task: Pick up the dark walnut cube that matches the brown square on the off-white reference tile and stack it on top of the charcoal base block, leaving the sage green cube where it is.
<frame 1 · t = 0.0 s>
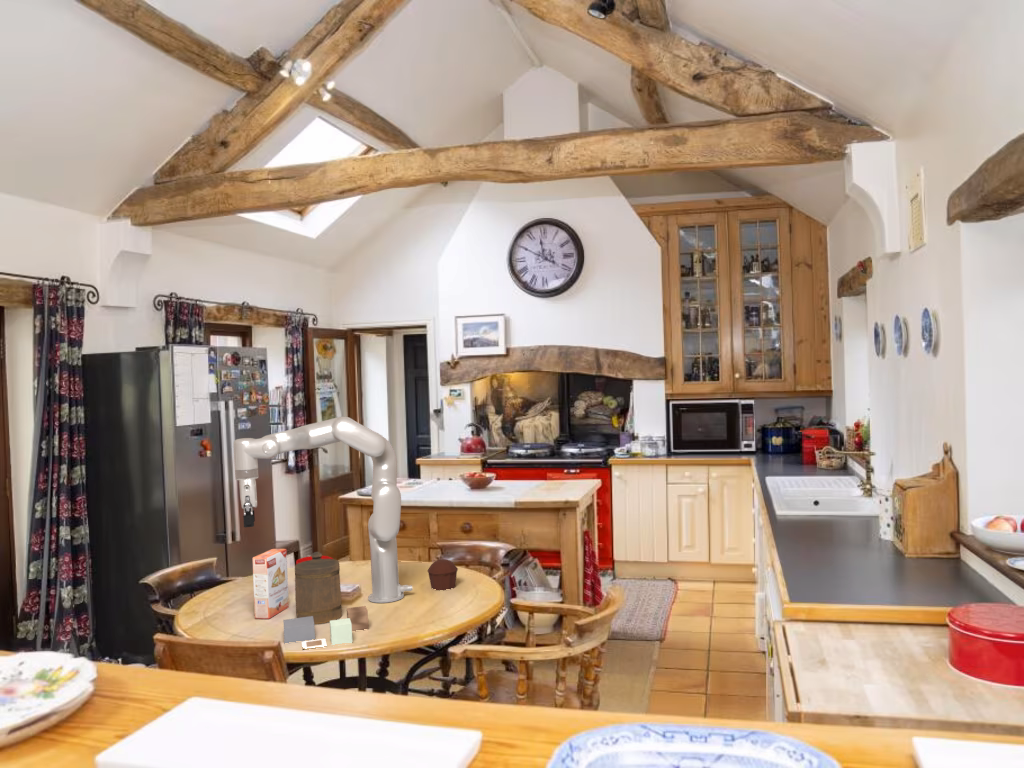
hand: (249, 524, 269), 31 cm above the table, tool pointing down, fingers open, 9 cm apart
base block: (299, 638, 244), on the table
muffin: (443, 587, 294), on the table
wooden container: (319, 618, 263), on the table
cracker box: (272, 613, 272), on the table
ceramic cup: (318, 584, 308), on the table
reference tile: (314, 644, 236), on the table
walnut cube: (357, 628, 250), on the table
sage cube: (341, 641, 238), on the table
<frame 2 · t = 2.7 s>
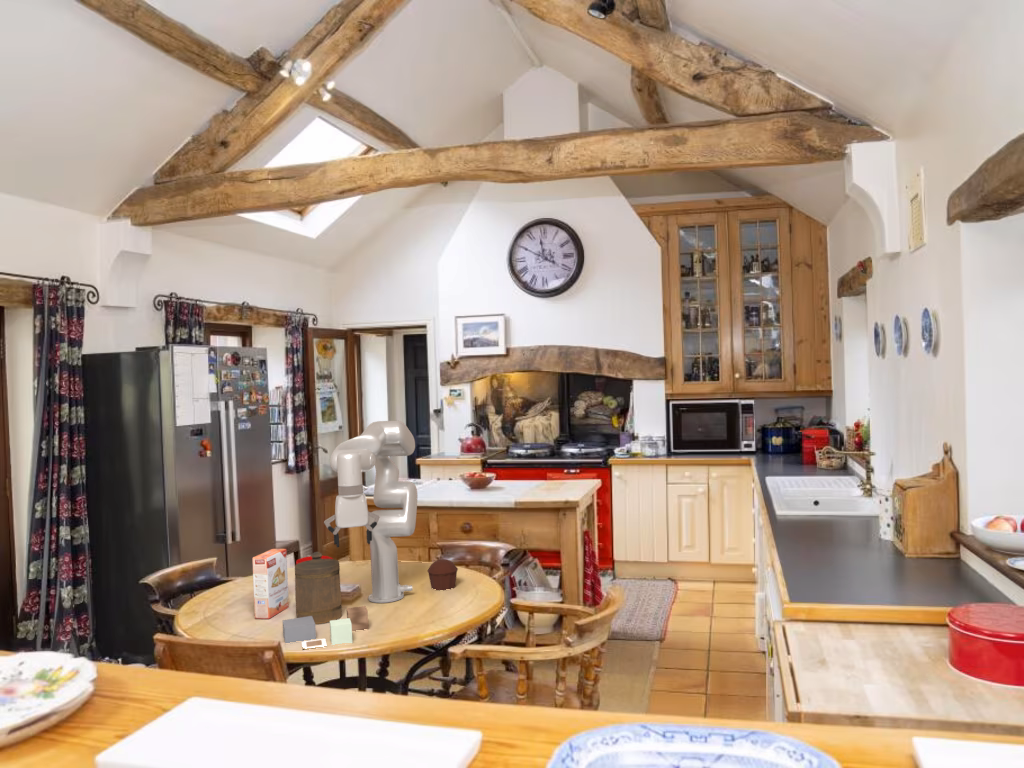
hand: (353, 544, 250), 27 cm above the table, tool pointing down, fingers open, 9 cm apart
nothing on the table moved.
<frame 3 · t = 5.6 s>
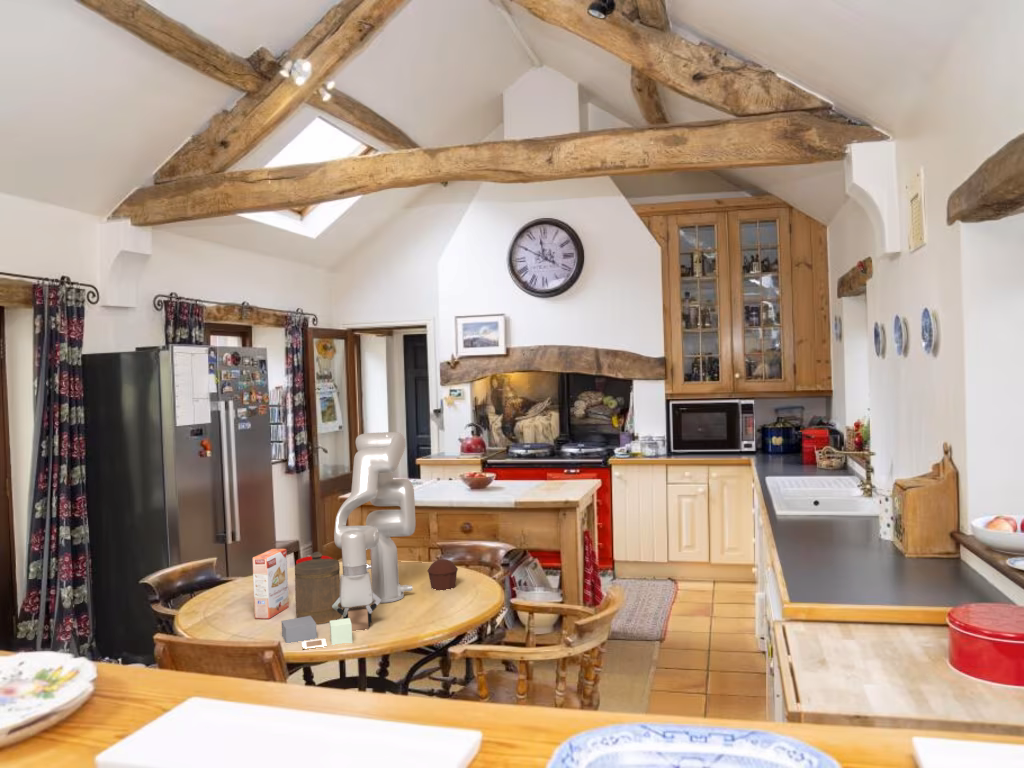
hand: (357, 626, 250), 1 cm above the table, tool pointing down, fingers closed on walnut cube, 6 cm apart
walnut cube: (357, 628, 250), on the table, touching gripper
everything else where it was.
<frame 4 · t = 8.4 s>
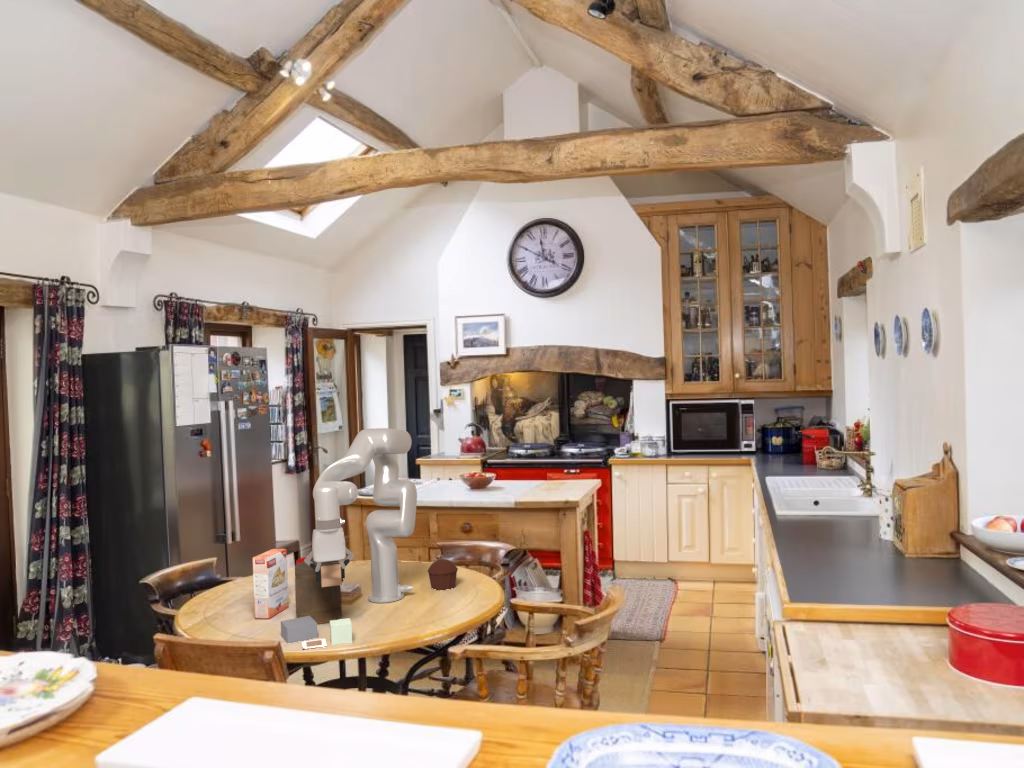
hand: (330, 581, 247), 16 cm above the table, tool pointing down, fingers closed on walnut cube, 6 cm apart
walnut cube: (330, 583, 247), point 15 cm above the table, touching gripper
everything else where it was.
when the fingers open (7 cm above the table, at t = 11.1 s): walnut cube drops 1 cm, resting on base block.
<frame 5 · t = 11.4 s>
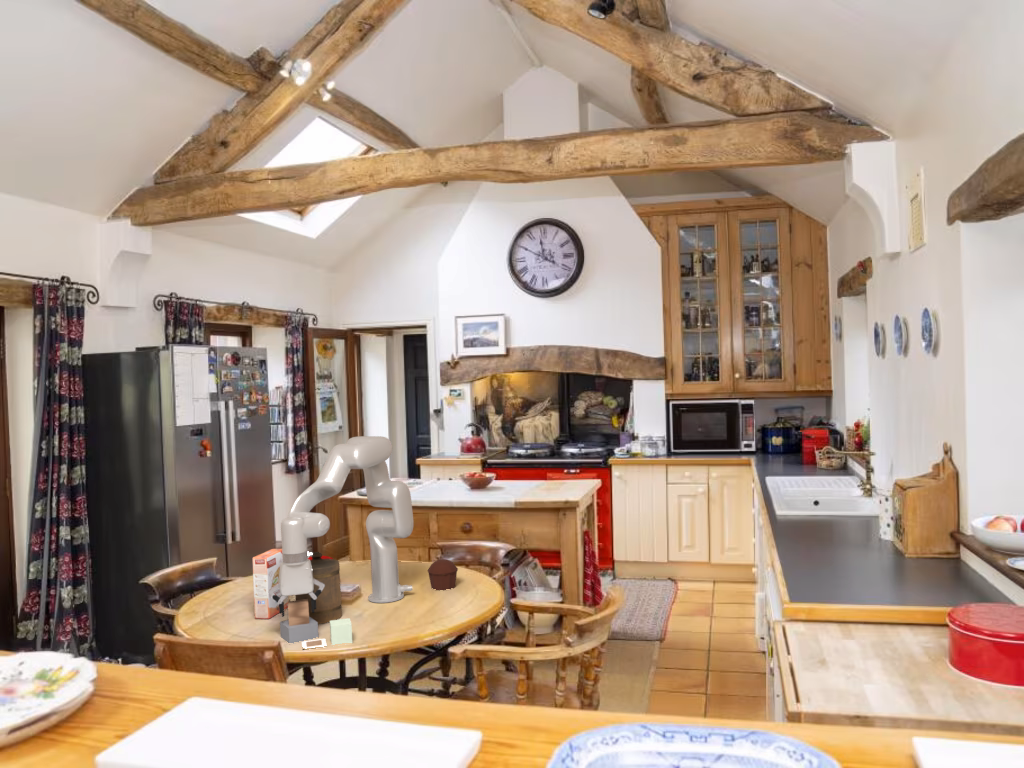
hand: (298, 613, 244), 7 cm above the table, tool pointing down, fingers open, 8 cm apart
base block: (299, 638, 244), on the table, touching walnut cube
walnut cube: (299, 621, 244), point 5 cm above the table, touching base block
everything else where it was.
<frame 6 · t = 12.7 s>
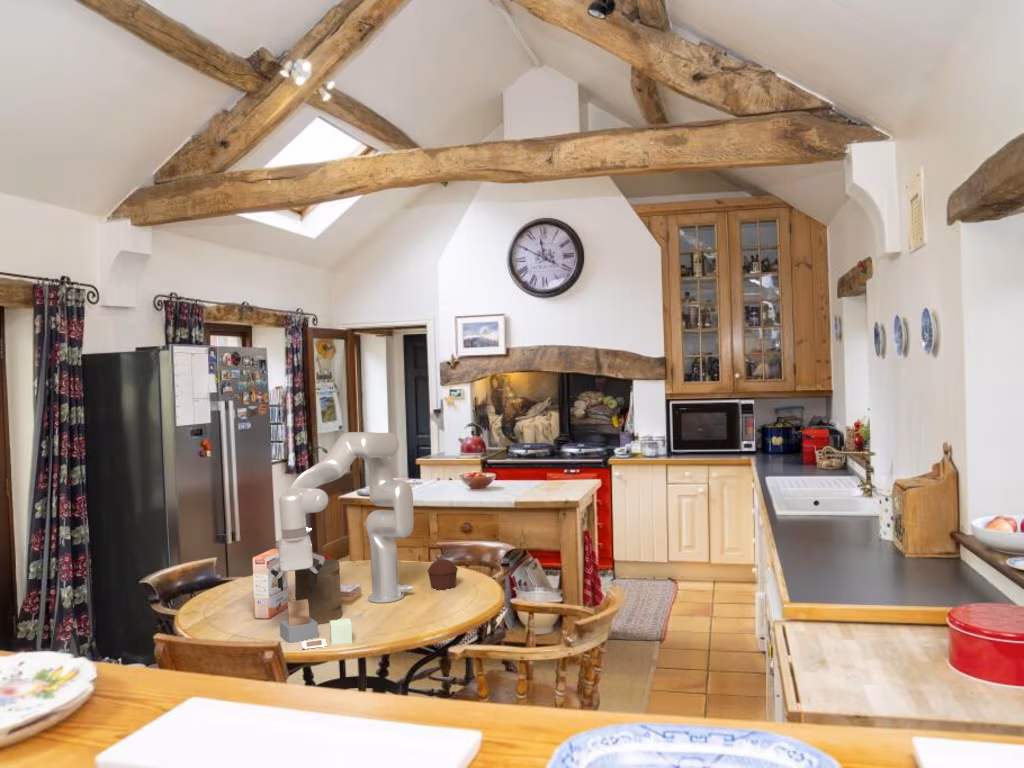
hand: (298, 587, 245), 15 cm above the table, tool pointing down, fingers open, 9 cm apart
base block: (299, 638, 244), on the table
walnut cube: (299, 622, 244), point 5 cm above the table
everything else where it was.
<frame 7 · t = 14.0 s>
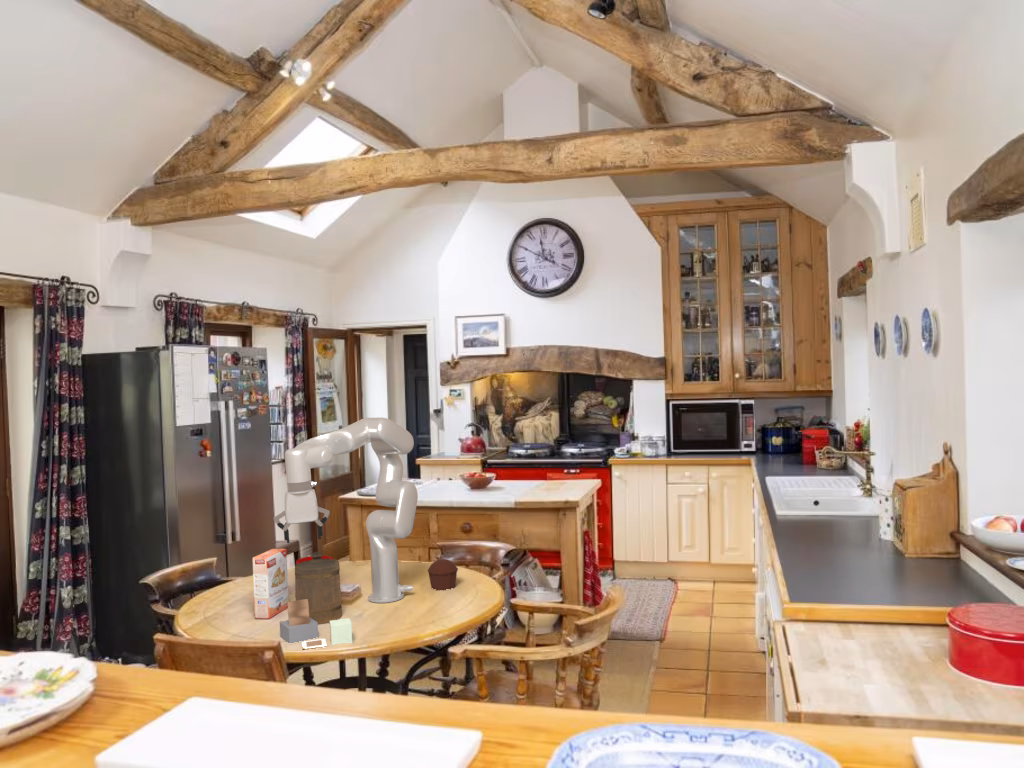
hand: (303, 540, 251), 29 cm above the table, tool pointing down, fingers open, 9 cm apart
base block: (299, 638, 244), on the table, touching walnut cube
walnut cube: (298, 622, 244), point 5 cm above the table, touching base block
everything else where it was.
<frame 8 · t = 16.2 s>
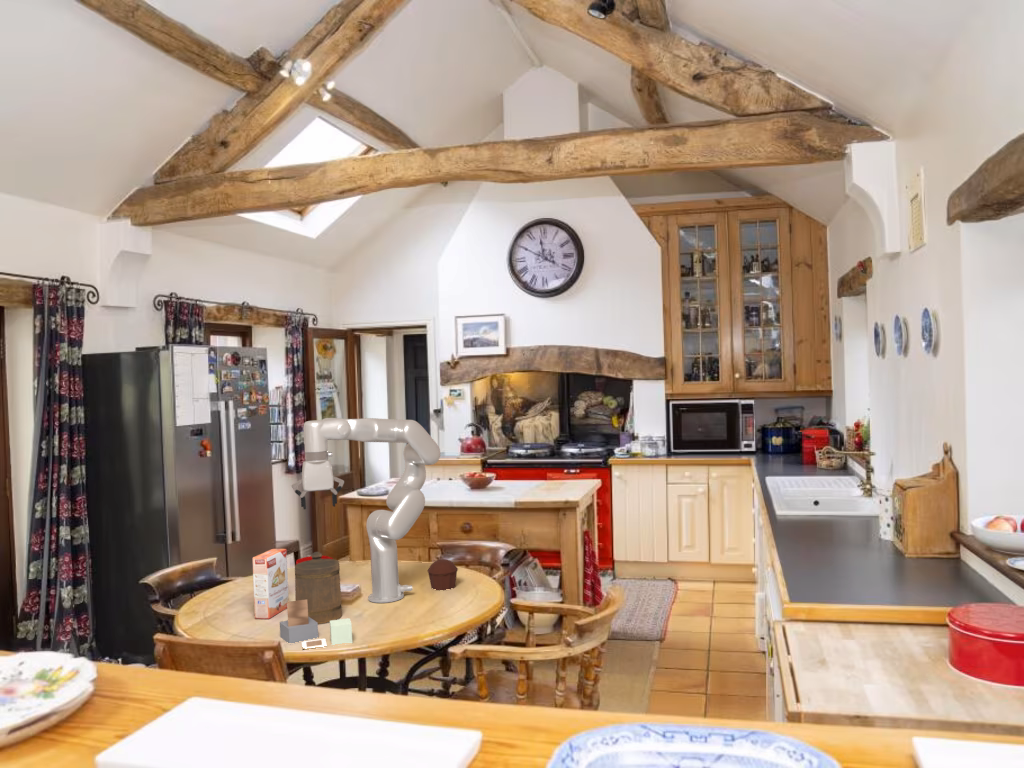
hand: (319, 507, 266), 36 cm above the table, tool pointing down, fingers open, 9 cm apart
nothing on the table moved.
at the end: walnut cube 0.1 cm off-centre on the base block, point 5.0 cm above the base block's base; walnut cube tilted 0°; sage cube moved 0.1 cm from its start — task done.
